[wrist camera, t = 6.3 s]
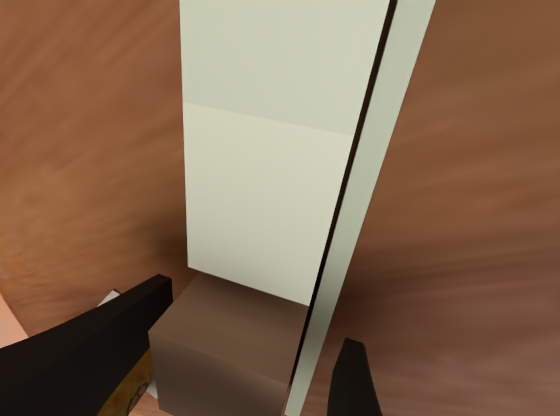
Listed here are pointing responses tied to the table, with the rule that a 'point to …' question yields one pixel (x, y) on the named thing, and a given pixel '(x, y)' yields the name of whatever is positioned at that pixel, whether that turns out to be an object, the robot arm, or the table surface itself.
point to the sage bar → (288, 140)
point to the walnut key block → (225, 350)
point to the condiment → (130, 384)
